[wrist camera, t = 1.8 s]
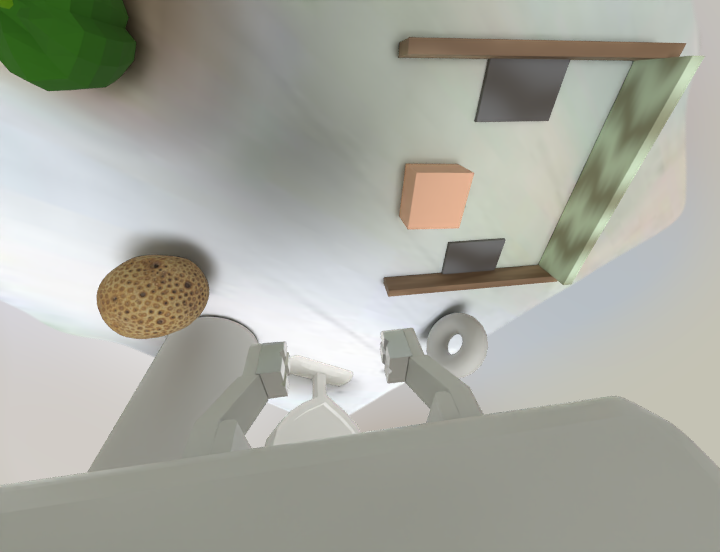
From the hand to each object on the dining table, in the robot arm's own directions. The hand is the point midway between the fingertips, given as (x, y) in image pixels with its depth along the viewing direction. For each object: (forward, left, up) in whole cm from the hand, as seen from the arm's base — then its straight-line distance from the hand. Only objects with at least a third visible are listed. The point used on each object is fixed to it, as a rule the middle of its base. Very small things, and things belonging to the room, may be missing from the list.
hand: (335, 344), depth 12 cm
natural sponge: (+8, -18, -21) cm, 29 cm away
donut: (+22, +18, -21) cm, 36 cm away
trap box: (0, +20, -21) cm, 29 cm away
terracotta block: (0, +12, -21) cm, 25 cm away
